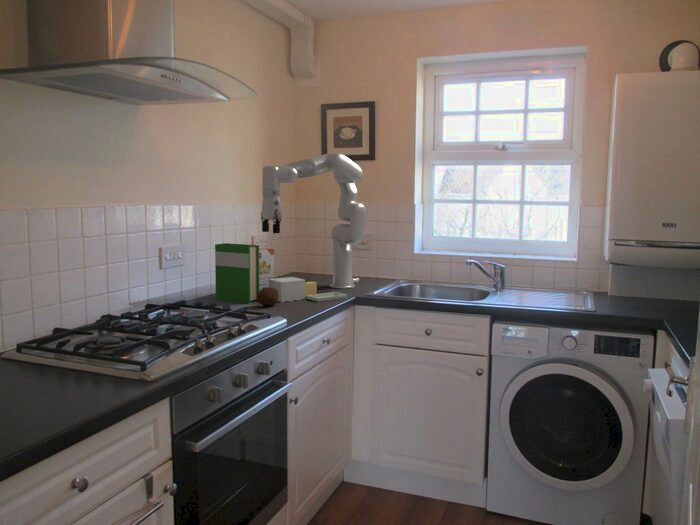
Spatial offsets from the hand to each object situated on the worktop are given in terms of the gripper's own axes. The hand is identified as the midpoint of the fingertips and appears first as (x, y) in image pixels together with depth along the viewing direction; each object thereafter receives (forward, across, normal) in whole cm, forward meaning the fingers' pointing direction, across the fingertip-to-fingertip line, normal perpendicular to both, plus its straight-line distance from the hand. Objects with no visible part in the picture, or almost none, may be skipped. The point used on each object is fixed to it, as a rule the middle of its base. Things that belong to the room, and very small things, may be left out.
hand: (270, 232), depth 255 cm
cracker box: (+29, +6, +3) cm, 30 cm away
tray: (+29, -20, -17) cm, 39 cm away
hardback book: (+29, -2, +18) cm, 34 cm away
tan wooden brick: (+29, -11, -11) cm, 33 cm away
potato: (+29, -21, +13) cm, 38 cm away
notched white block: (+29, -11, -2) cm, 31 cm away
